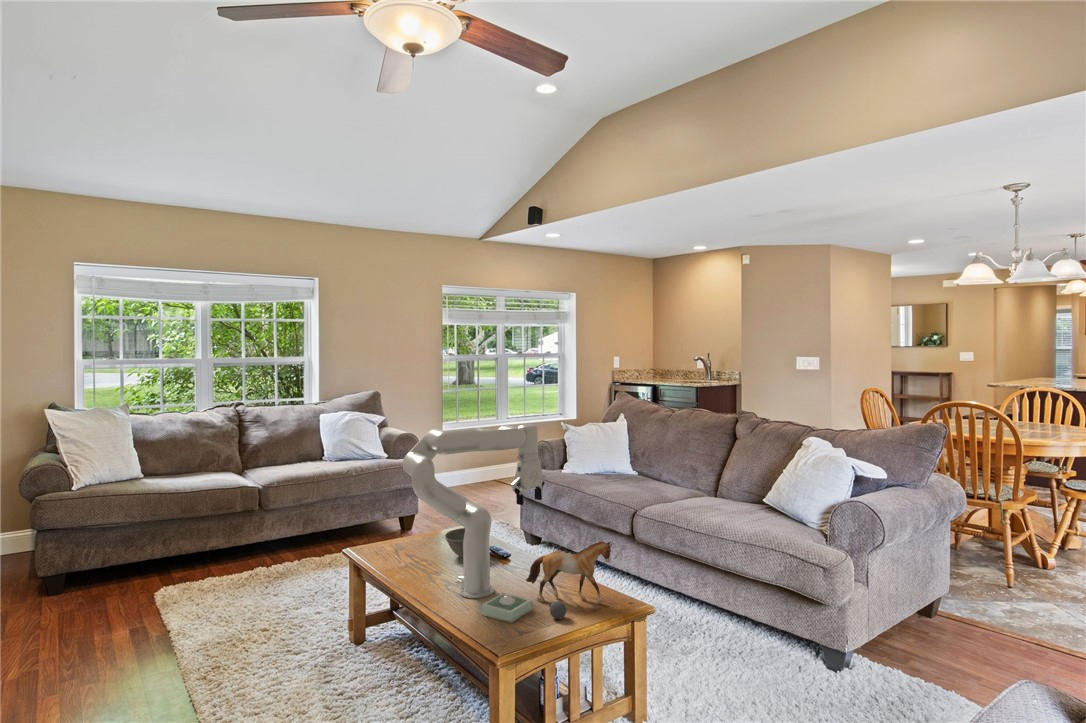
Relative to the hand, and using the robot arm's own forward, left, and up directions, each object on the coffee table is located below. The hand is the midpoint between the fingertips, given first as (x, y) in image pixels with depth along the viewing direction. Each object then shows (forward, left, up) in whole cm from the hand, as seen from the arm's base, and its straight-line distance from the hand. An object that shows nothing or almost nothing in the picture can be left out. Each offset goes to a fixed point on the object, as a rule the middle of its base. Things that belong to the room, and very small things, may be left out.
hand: (529, 502), depth 245 cm
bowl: (-39, +10, -31) cm, 50 cm away
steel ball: (+9, -28, -30) cm, 42 cm away
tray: (+9, -28, -30) cm, 42 cm away
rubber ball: (+26, -23, -30) cm, 46 cm away
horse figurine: (+20, -6, -31) cm, 37 cm away
